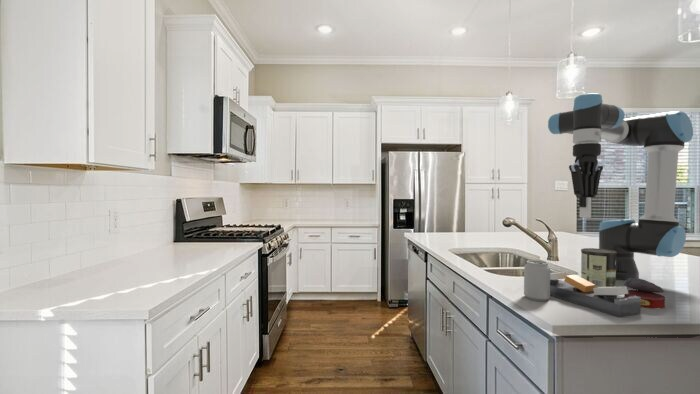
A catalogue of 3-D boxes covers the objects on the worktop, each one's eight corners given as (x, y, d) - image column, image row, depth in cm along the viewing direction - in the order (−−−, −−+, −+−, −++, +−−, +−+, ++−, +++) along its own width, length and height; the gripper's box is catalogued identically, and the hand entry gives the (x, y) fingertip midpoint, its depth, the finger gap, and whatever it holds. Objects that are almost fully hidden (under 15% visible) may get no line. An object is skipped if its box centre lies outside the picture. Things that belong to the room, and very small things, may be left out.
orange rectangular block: (564, 281, 118) (565, 275, 118) (573, 280, 120) (575, 274, 119) (584, 292, 112) (586, 286, 111) (593, 291, 114) (595, 285, 113)
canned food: (622, 315, 115) (609, 284, 120) (653, 311, 116) (638, 280, 120) (648, 309, 105) (633, 275, 110) (681, 305, 106) (664, 272, 110)
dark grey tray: (529, 289, 128) (529, 276, 128) (548, 286, 131) (548, 273, 131) (619, 317, 100) (620, 300, 100) (640, 313, 103) (640, 297, 103)
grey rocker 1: (540, 280, 127) (539, 274, 127) (549, 279, 128) (548, 273, 129) (557, 279, 120) (556, 273, 121) (567, 278, 122) (565, 272, 122)
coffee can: (606, 287, 131) (607, 248, 131) (621, 295, 121) (622, 253, 121) (575, 285, 133) (576, 247, 133) (587, 293, 123) (588, 252, 123)
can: (552, 298, 118) (553, 261, 117) (545, 303, 112) (546, 264, 112) (528, 293, 123) (529, 258, 123) (520, 298, 118) (520, 261, 117)
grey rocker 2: (594, 295, 109) (592, 288, 109) (604, 293, 111) (602, 286, 111) (618, 295, 103) (616, 287, 103) (628, 293, 104) (626, 286, 105)
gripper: (584, 141, 109) (582, 219, 110) (612, 143, 114) (610, 218, 115) (561, 144, 116) (560, 217, 117) (589, 146, 121) (587, 216, 122)
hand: (585, 217), depth 116 cm, fingers closed
